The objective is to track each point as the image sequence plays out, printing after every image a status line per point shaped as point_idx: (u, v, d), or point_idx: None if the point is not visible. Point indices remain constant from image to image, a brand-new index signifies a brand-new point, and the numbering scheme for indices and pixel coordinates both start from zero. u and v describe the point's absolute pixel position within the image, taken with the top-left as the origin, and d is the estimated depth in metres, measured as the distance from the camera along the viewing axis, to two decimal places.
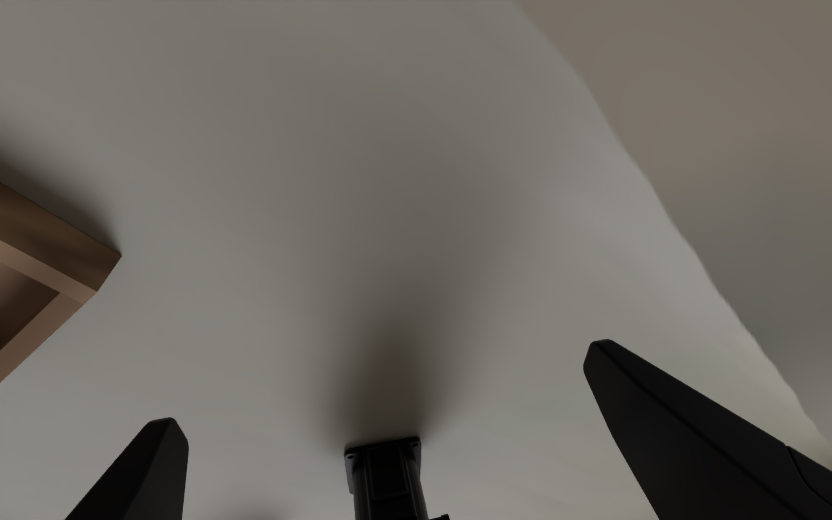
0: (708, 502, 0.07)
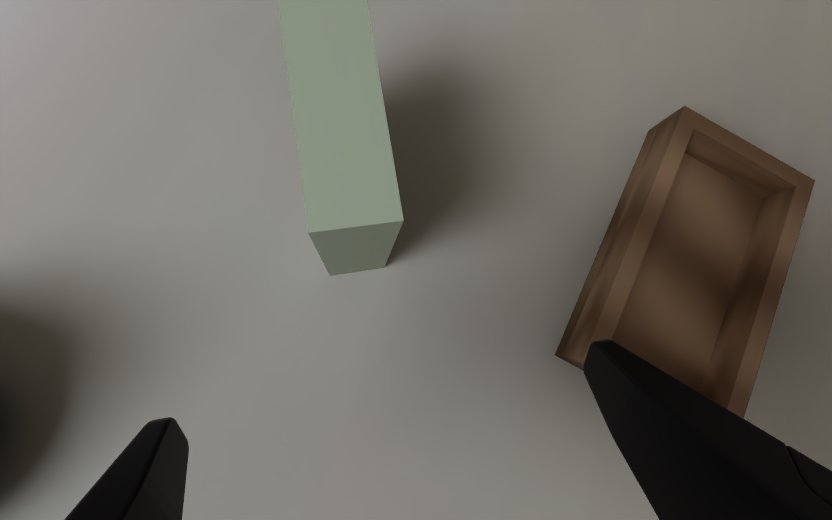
0: (708, 502, 0.07)
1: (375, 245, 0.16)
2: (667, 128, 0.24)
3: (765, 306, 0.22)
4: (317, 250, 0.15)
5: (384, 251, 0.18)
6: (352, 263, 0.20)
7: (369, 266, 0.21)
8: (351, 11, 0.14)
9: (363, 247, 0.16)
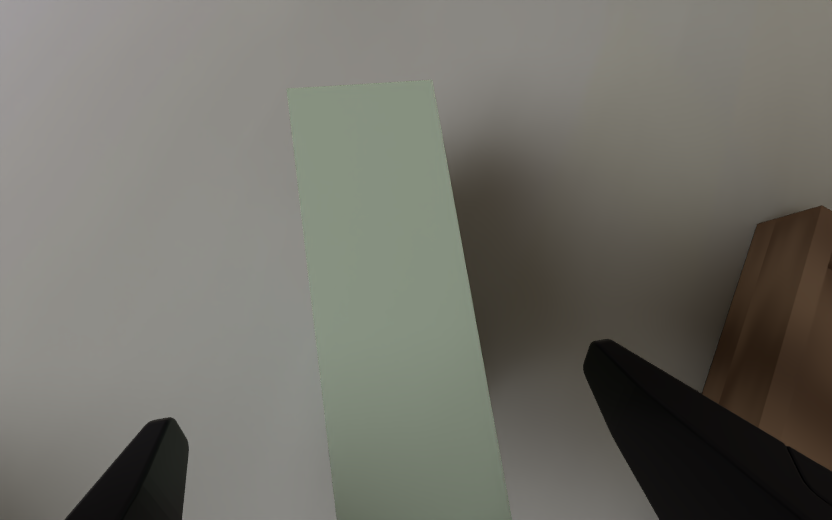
0: (708, 502, 0.07)
1: None
2: (795, 232, 0.19)
3: None
4: None
5: None
6: None
7: None
8: (416, 144, 0.08)
9: None
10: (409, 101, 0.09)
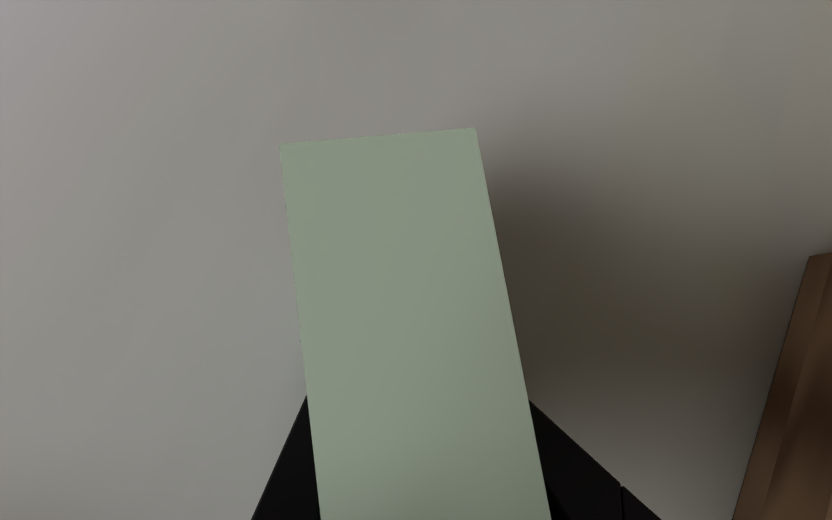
0: None
1: None
2: None
3: None
4: None
5: None
6: None
7: None
8: (455, 219, 0.06)
9: None
10: (445, 158, 0.06)
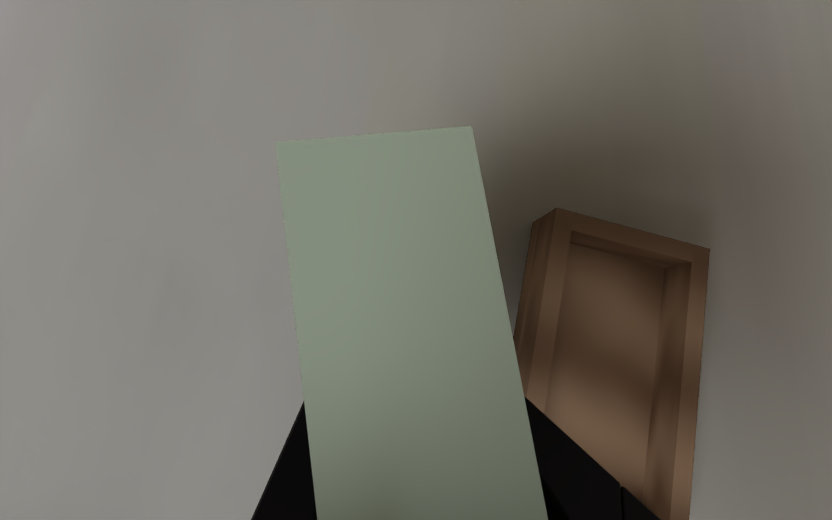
0: None
1: None
2: (546, 231, 0.22)
3: (686, 409, 0.21)
4: None
5: None
6: None
7: None
8: (452, 217, 0.06)
9: None
10: (442, 156, 0.06)
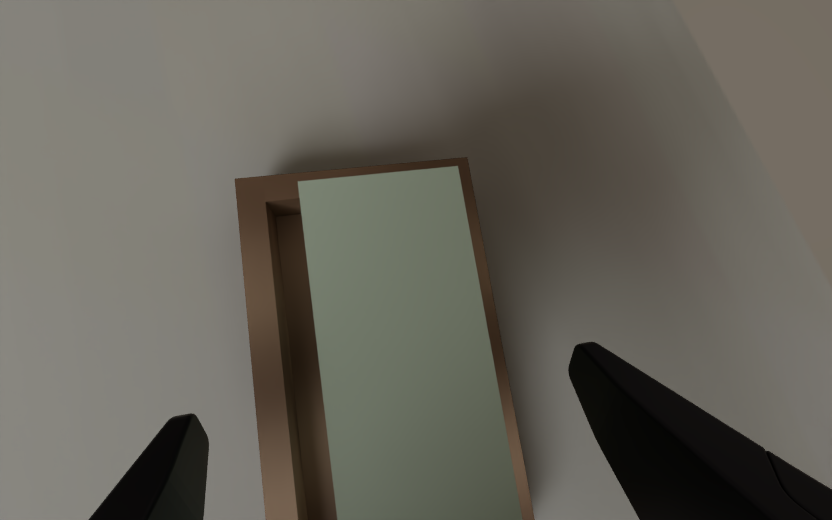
0: (688, 507, 0.07)
1: None
2: None
3: None
4: None
5: None
6: None
7: None
8: (440, 242, 0.08)
9: None
10: (433, 191, 0.08)
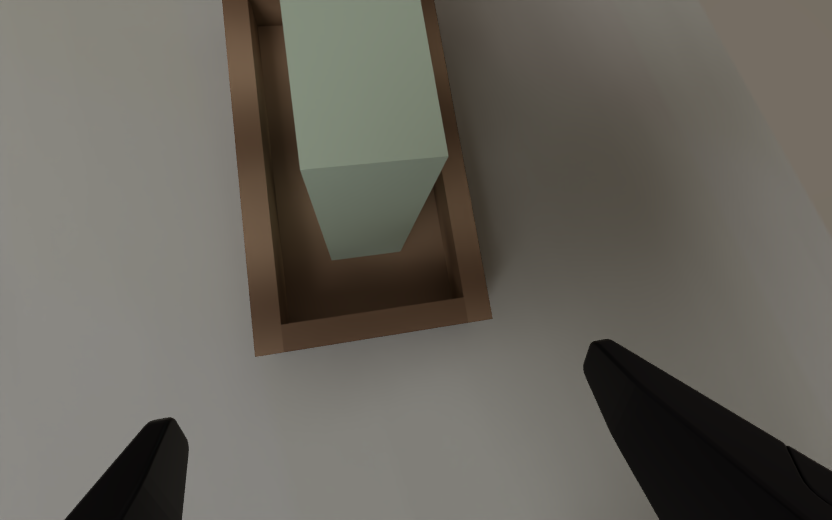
0: (708, 502, 0.07)
1: (396, 209, 0.12)
2: None
3: None
4: (315, 212, 0.11)
5: (406, 222, 0.13)
6: (361, 241, 0.15)
7: (382, 248, 0.17)
8: None
9: (380, 211, 0.12)
10: None
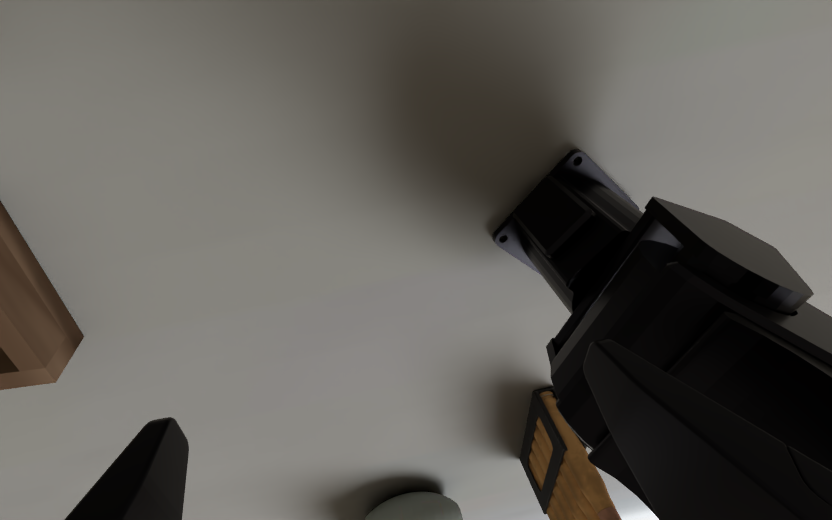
0: (708, 502, 0.07)
1: None
2: None
3: None
4: None
5: None
6: None
7: None
8: None
9: None
10: None
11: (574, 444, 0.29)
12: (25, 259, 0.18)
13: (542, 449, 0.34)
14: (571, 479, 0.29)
